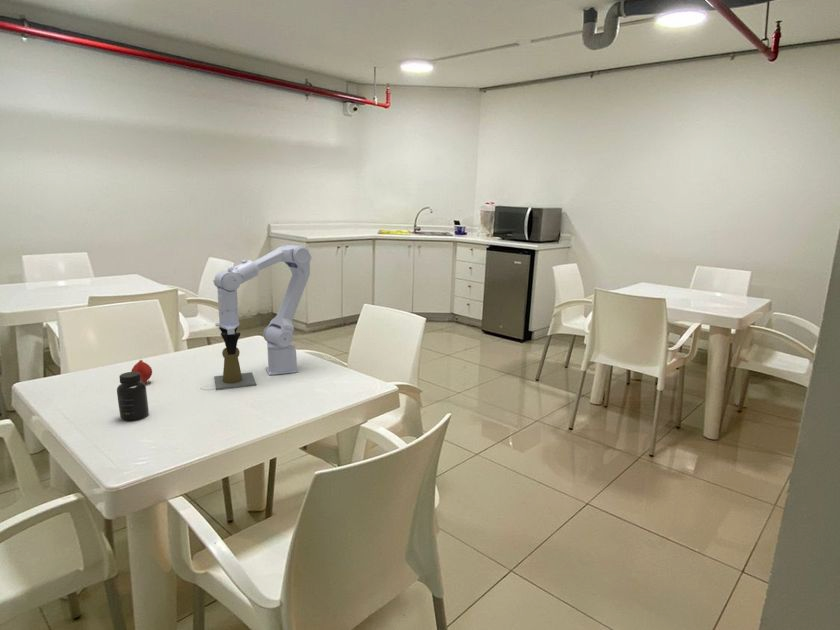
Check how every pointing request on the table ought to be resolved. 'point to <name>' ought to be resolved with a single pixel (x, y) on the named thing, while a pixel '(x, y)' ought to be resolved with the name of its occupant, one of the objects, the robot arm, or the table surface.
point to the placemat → (246, 381)
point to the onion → (143, 370)
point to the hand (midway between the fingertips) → (230, 351)
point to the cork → (231, 367)
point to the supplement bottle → (132, 397)
